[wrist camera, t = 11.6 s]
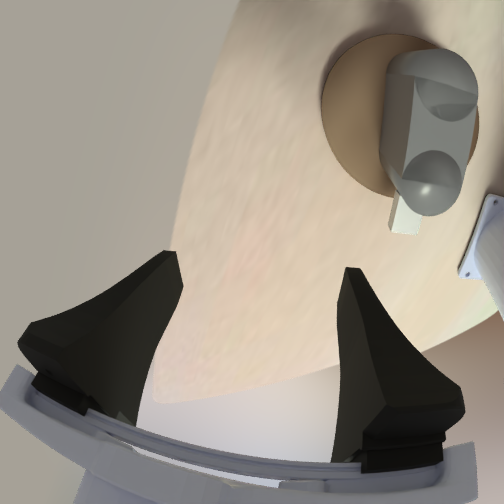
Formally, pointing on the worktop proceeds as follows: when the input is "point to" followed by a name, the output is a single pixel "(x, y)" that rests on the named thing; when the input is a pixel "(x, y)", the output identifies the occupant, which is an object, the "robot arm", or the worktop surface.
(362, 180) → the walnut coaster
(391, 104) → the grey connector plug
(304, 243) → the worktop surface
